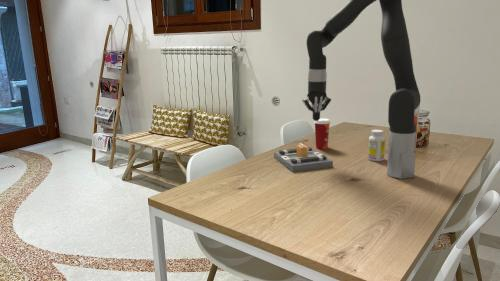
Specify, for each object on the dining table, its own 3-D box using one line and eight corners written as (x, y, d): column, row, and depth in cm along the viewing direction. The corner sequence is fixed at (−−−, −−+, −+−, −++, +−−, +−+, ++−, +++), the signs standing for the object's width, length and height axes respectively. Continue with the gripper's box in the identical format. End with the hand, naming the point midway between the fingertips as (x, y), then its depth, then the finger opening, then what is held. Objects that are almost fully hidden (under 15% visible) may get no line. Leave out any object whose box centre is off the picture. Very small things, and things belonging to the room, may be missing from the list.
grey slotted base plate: (326, 165, 163) (326, 156, 162) (293, 169, 159) (293, 160, 158) (309, 154, 179) (309, 146, 178) (279, 158, 175) (279, 150, 174)
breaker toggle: (307, 157, 166) (307, 145, 165) (301, 157, 166) (301, 146, 164) (302, 154, 171) (302, 142, 170) (296, 154, 170) (296, 143, 169)
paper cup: (331, 149, 186) (331, 121, 182) (315, 150, 186) (315, 121, 182) (328, 145, 193) (328, 117, 190) (312, 145, 193) (313, 118, 190)
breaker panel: (332, 166, 161) (332, 159, 160) (292, 171, 156) (292, 164, 155) (310, 152, 181) (310, 146, 181) (274, 157, 177) (273, 150, 176)
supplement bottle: (382, 157, 172) (383, 128, 168) (385, 161, 165) (387, 132, 162) (366, 157, 172) (367, 129, 169) (369, 161, 166) (370, 132, 163)
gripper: (306, 81, 157) (305, 123, 161) (335, 80, 160) (334, 121, 165) (299, 79, 164) (298, 119, 168) (327, 78, 167) (326, 117, 172)
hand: (316, 120), depth 166 cm, fingers closed
